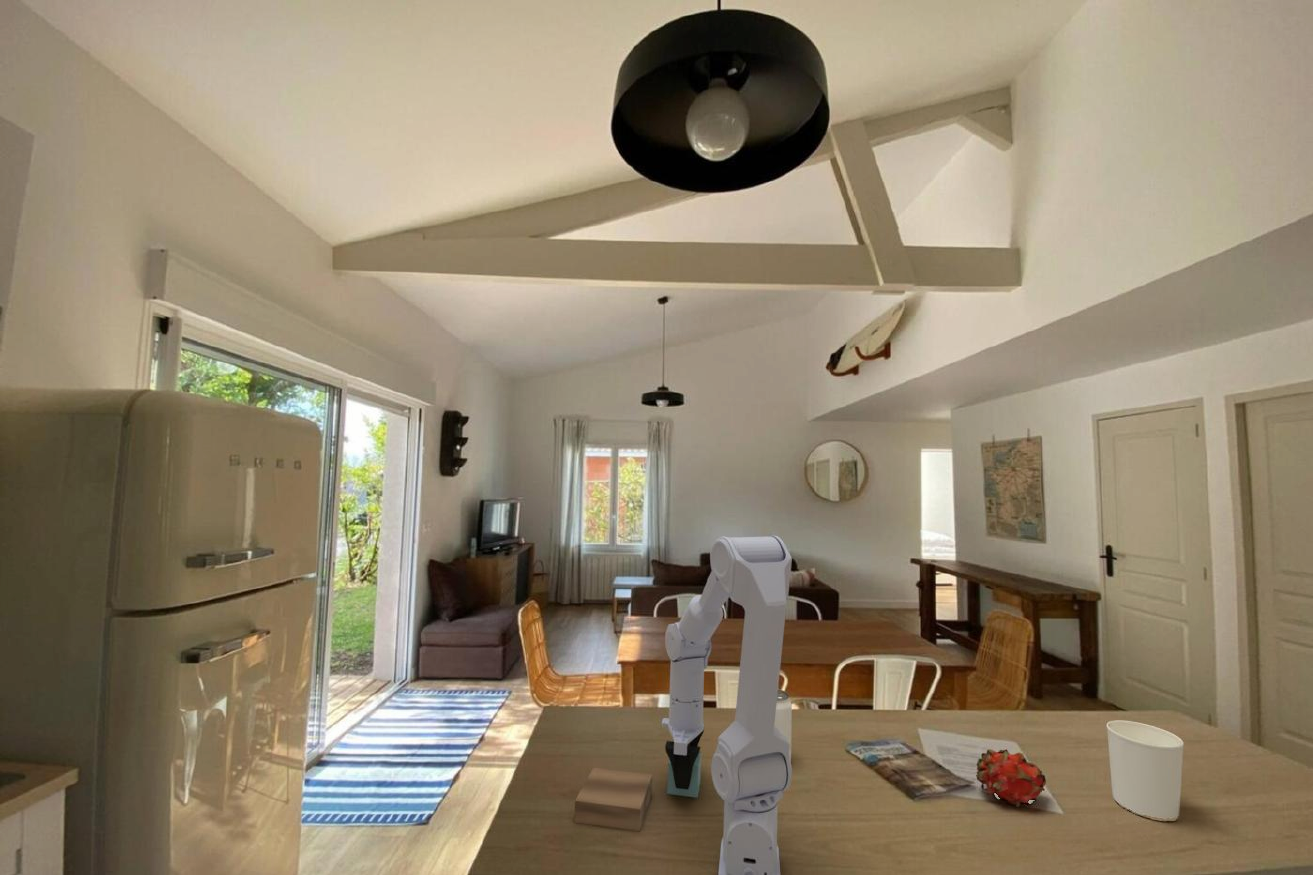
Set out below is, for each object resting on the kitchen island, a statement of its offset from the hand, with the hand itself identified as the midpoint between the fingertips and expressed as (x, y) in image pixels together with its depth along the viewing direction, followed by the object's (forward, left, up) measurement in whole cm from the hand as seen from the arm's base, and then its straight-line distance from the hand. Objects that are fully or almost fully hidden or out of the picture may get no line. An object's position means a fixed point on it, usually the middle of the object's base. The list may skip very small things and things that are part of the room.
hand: (684, 778), depth 97 cm
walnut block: (-8, +10, -2) cm, 13 cm away
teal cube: (0, 0, -1) cm, 1 cm away
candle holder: (+11, -75, -2) cm, 76 cm away
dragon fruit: (+9, -54, -2) cm, 55 cm away
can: (+13, -15, -2) cm, 20 cm away
